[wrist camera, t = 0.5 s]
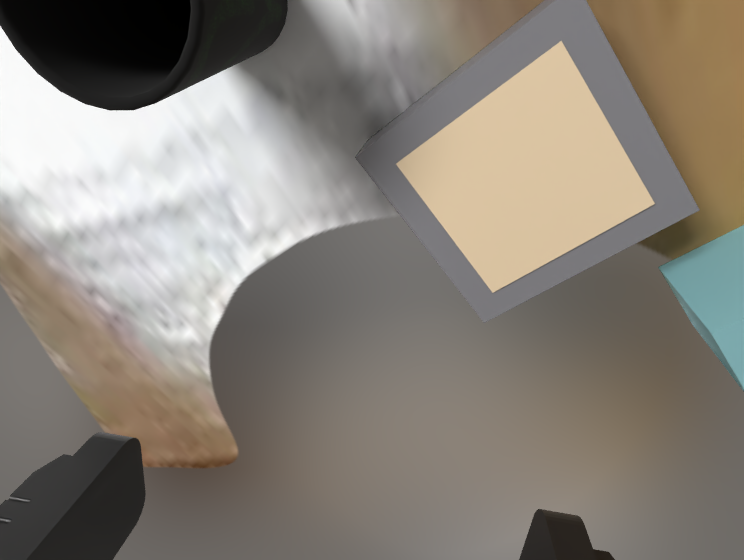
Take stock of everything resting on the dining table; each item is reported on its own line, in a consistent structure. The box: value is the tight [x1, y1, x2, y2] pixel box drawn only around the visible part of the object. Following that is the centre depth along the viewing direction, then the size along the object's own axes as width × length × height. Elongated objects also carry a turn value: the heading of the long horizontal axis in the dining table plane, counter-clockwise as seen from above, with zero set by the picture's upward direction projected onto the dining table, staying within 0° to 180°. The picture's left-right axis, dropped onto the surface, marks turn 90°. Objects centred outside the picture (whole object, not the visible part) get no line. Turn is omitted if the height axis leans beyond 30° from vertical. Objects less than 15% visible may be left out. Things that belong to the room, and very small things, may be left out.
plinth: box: [355, 0, 699, 323], centre depth 26 cm, size 12×12×4 cm
